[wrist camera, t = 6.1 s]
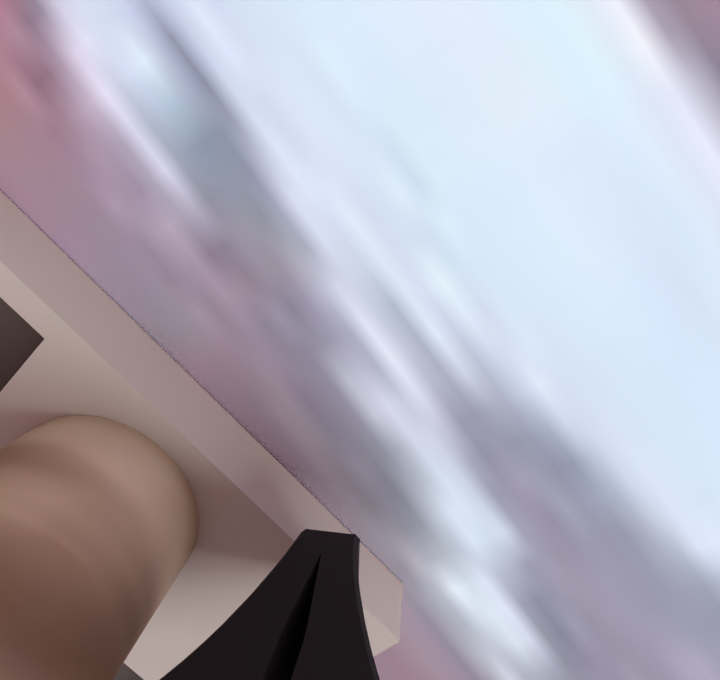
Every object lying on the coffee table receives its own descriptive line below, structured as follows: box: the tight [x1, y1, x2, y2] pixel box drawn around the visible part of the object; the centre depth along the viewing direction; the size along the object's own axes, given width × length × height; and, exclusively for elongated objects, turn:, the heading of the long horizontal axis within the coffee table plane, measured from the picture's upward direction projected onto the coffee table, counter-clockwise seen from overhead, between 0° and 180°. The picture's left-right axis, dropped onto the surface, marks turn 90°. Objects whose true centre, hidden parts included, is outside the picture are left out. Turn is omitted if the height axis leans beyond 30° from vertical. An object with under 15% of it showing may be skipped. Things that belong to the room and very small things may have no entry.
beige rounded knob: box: [0, 415, 199, 680], centre depth 11 cm, size 5×5×4 cm
